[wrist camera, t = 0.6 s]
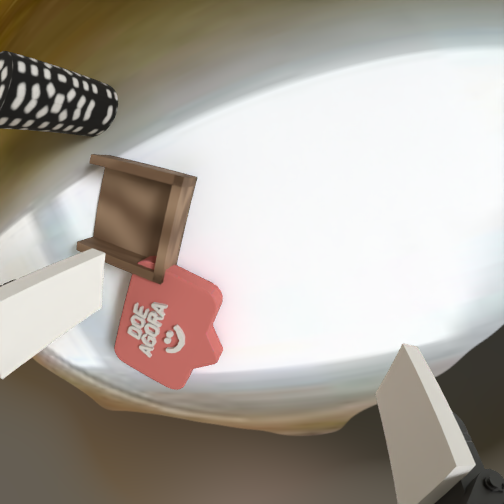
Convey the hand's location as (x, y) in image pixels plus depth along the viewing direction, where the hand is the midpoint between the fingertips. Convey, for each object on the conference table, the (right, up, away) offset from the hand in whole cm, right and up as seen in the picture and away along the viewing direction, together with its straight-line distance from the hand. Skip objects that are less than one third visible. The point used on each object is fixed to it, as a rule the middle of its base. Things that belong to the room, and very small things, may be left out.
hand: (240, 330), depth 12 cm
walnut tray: (-15, +8, +28) cm, 33 cm away
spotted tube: (-23, +24, +26) cm, 42 cm away
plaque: (-10, -7, +31) cm, 34 cm away
